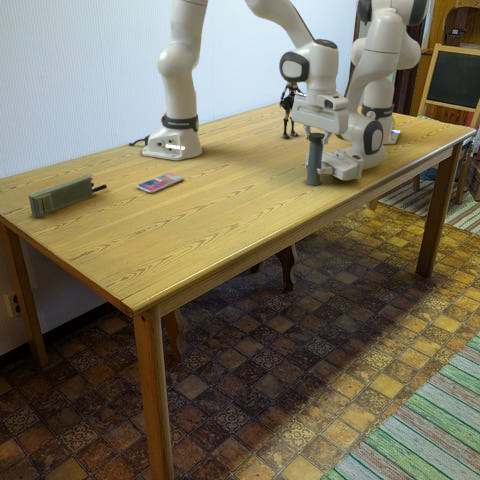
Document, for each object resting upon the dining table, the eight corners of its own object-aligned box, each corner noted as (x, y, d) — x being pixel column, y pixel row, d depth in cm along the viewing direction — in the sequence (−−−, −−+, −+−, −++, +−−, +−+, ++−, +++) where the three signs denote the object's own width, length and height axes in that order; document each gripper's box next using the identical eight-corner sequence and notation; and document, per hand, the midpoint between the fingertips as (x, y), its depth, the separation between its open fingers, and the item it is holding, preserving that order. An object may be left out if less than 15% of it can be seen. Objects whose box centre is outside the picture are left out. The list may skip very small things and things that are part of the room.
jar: (315, 179, 169) (320, 135, 162) (321, 184, 166) (326, 139, 159) (304, 181, 168) (307, 136, 161) (309, 186, 164) (314, 140, 157)
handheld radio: (30, 215, 144) (102, 188, 161) (37, 219, 142) (109, 191, 159) (26, 193, 140) (100, 168, 157) (33, 197, 138) (107, 171, 155)
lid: (312, 137, 163) (312, 131, 162) (327, 140, 161) (327, 134, 160) (306, 141, 159) (306, 135, 158) (321, 144, 157) (322, 138, 156)
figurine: (282, 141, 203) (286, 63, 188) (271, 138, 207) (274, 61, 192) (306, 134, 212) (311, 59, 197) (295, 130, 215) (300, 57, 201)
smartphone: (184, 177, 167) (150, 191, 157) (184, 180, 167) (151, 194, 157) (168, 171, 171) (134, 185, 161) (168, 174, 171) (135, 188, 161)
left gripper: (288, 92, 158) (285, 135, 165) (340, 105, 145) (335, 151, 152) (301, 89, 162) (299, 131, 169) (353, 102, 149) (348, 147, 155)
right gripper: (325, 143, 177) (293, 150, 170) (366, 161, 161) (333, 169, 155) (323, 160, 180) (292, 167, 173) (364, 179, 164) (331, 188, 158)
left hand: (316, 141), depth 160 cm, fingers closed on lid, 5 cm apart
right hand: (312, 168), depth 164 cm, fingers closed on jar, 4 cm apart
